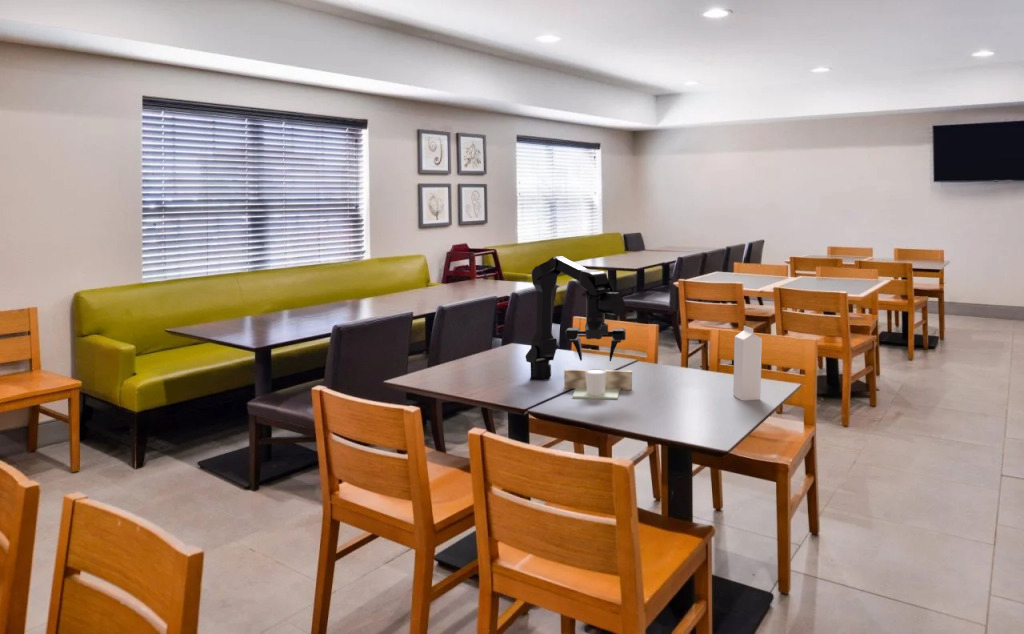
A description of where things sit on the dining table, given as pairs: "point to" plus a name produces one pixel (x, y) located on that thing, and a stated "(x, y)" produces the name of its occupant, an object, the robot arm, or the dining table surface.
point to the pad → (607, 395)
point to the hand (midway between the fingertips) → (595, 360)
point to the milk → (747, 365)
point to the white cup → (595, 381)
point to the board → (613, 379)
